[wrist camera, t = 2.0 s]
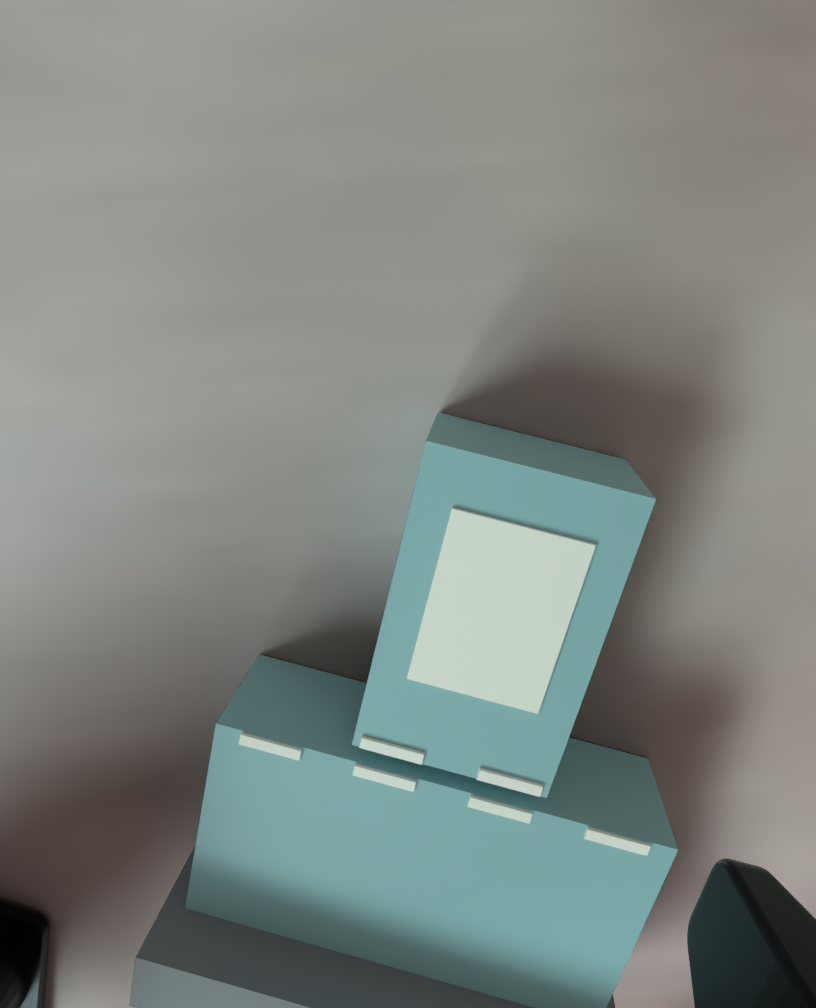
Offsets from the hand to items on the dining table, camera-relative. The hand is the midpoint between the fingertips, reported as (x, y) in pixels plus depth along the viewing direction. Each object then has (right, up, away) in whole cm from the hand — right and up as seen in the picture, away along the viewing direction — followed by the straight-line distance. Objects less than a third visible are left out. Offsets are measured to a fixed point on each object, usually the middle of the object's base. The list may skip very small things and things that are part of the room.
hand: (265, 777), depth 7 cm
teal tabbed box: (+2, -7, +15) cm, 17 cm away
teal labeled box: (+4, +1, +12) cm, 13 cm away
